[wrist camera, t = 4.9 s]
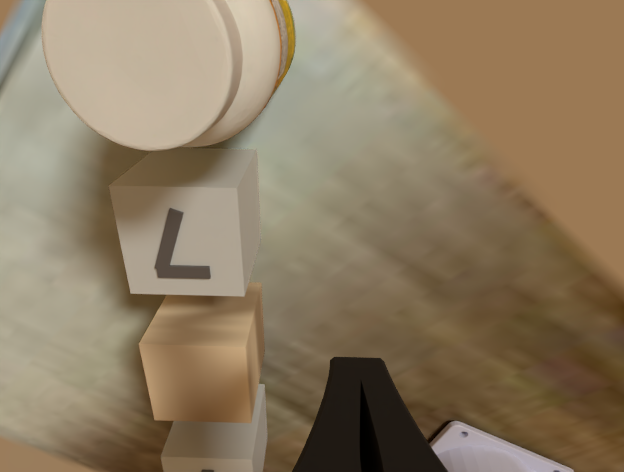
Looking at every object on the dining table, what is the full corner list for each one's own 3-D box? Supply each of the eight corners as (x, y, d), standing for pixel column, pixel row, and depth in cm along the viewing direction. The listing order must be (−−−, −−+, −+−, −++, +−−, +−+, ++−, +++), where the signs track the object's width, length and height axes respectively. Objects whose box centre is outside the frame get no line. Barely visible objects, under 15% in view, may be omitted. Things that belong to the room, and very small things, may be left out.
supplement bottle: (287, -52, 16) (246, -122, 8) (303, 98, 19) (284, 170, 10) (145, -34, 17) (-42, -82, 8) (179, 111, 19) (60, 190, 11)
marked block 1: (264, 383, 26) (251, 461, 22) (267, 436, 28) (256, 518, 24) (188, 381, 26) (159, 459, 22) (196, 434, 28) (171, 515, 24)
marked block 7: (257, 148, 20) (236, 189, 15) (261, 238, 22) (244, 298, 17) (157, 147, 20) (106, 186, 15) (170, 236, 22) (129, 295, 17)
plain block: (261, 282, 23) (245, 346, 19) (264, 350, 25) (251, 423, 21) (175, 279, 23) (138, 344, 19) (185, 347, 25) (154, 420, 21)
